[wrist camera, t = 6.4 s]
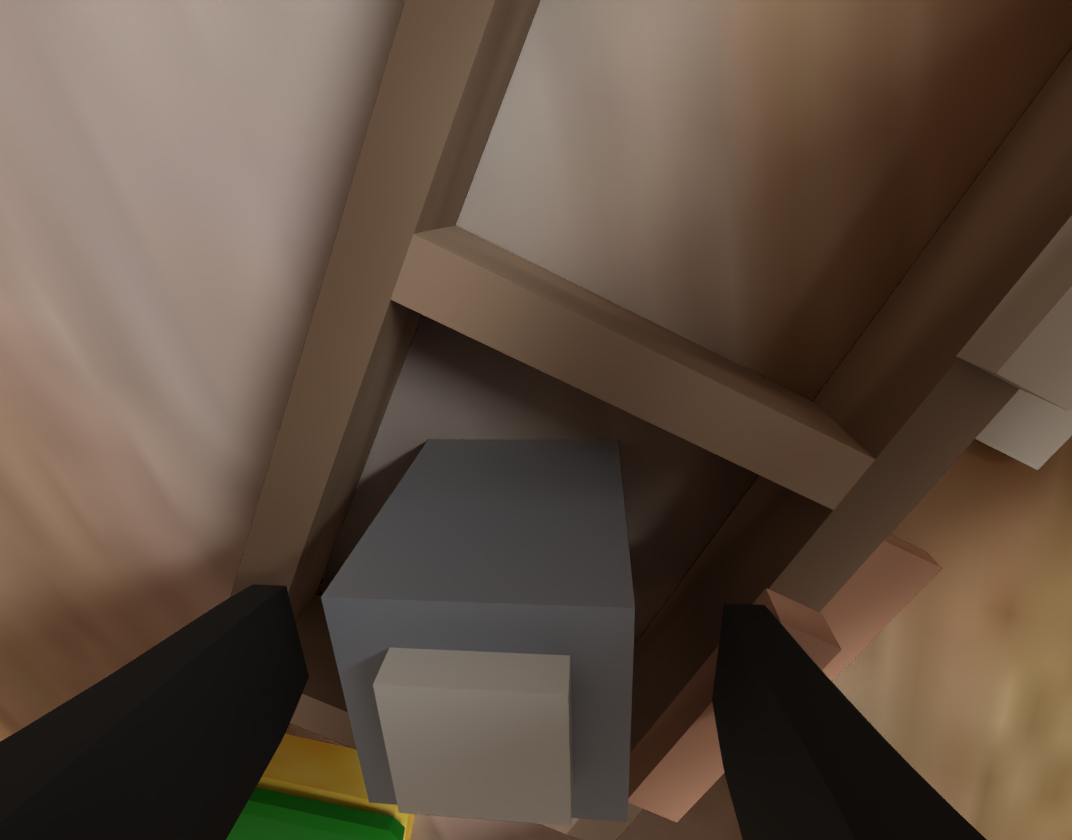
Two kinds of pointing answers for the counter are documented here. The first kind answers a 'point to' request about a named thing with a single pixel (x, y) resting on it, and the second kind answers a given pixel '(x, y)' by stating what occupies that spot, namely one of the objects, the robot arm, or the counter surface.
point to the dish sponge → (317, 799)
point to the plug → (493, 634)
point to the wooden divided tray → (674, 390)
